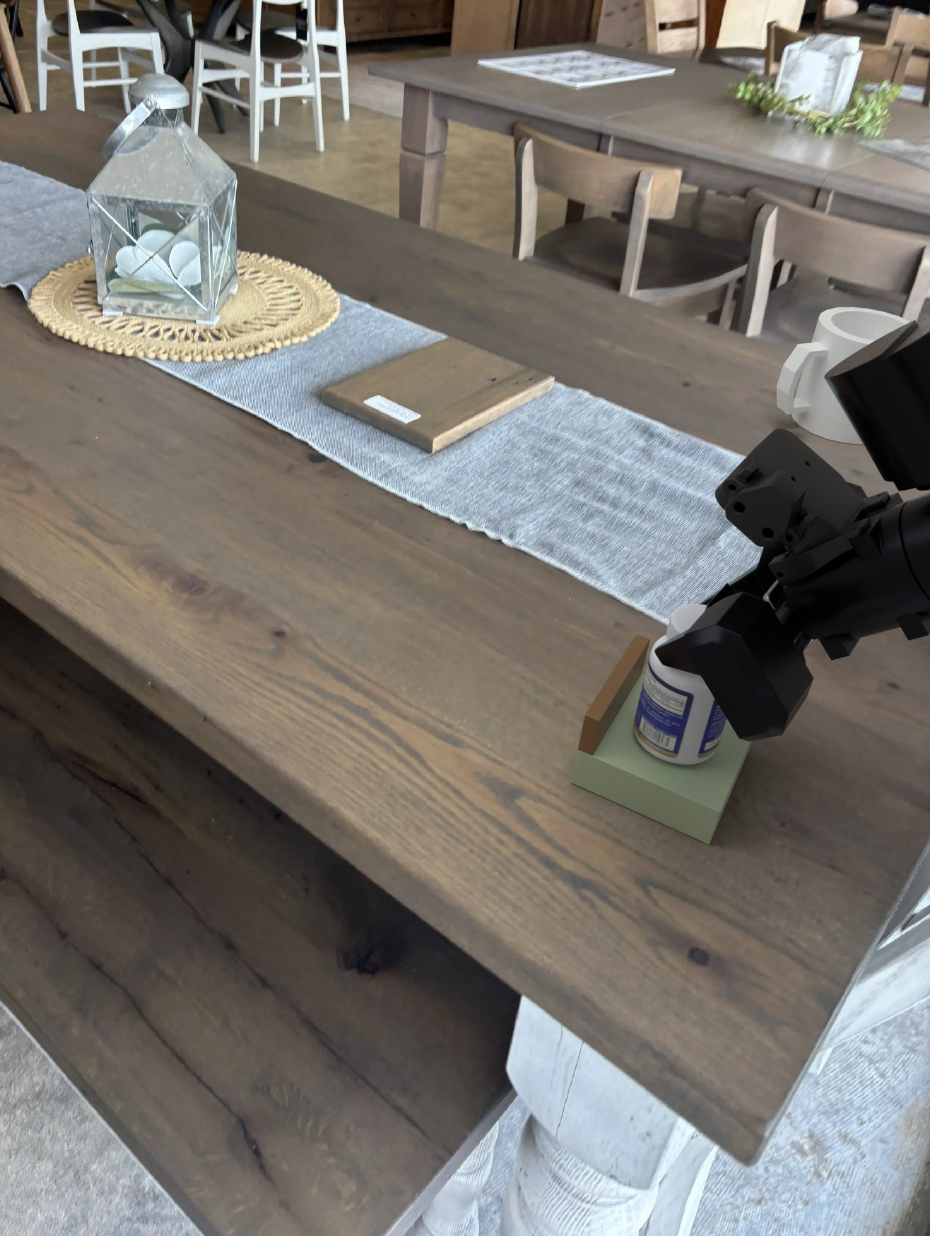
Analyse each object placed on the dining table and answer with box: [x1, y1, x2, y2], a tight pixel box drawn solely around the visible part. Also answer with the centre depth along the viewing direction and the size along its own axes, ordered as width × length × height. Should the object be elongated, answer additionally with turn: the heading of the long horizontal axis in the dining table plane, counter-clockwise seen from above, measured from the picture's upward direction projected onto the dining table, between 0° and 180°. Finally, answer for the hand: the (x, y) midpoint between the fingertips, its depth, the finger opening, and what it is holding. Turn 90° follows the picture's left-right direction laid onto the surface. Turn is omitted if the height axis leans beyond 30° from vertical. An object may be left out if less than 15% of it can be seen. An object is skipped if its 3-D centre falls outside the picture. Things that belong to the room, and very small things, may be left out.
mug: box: [776, 306, 911, 445], centre depth 103 cm, size 14×10×11 cm
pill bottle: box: [633, 603, 727, 765], centre depth 60 cm, size 5×5×9 cm
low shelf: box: [570, 633, 753, 845], centre depth 63 cm, size 9×9×6 cm
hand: (676, 636), depth 59 cm, fingers closed on pill bottle, 4 cm apart
